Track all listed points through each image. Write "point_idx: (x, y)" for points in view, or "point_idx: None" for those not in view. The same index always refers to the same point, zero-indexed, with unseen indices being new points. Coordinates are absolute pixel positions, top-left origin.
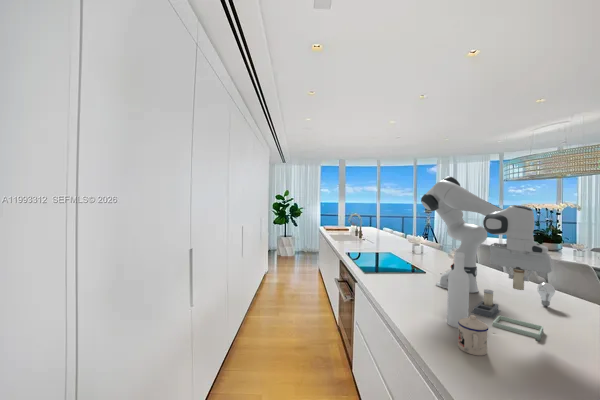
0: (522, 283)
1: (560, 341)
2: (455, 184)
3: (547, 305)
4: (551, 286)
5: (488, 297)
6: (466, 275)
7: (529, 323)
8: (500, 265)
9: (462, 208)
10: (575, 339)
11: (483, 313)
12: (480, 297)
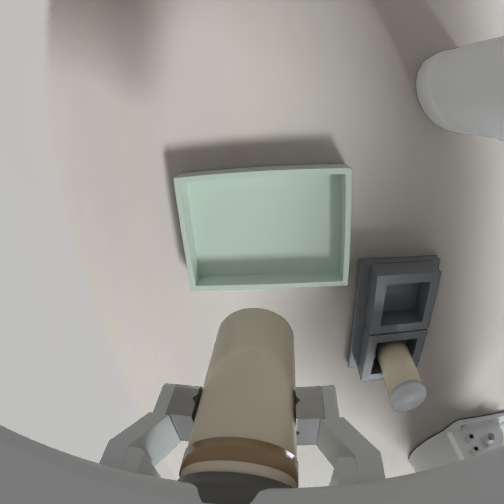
0: (212, 360)
1: (140, 238)
2: None
3: None
4: None
5: (403, 369)
6: None
7: (235, 284)
8: (449, 468)
9: None
10: (124, 294)
11: (401, 267)
12: (407, 429)
